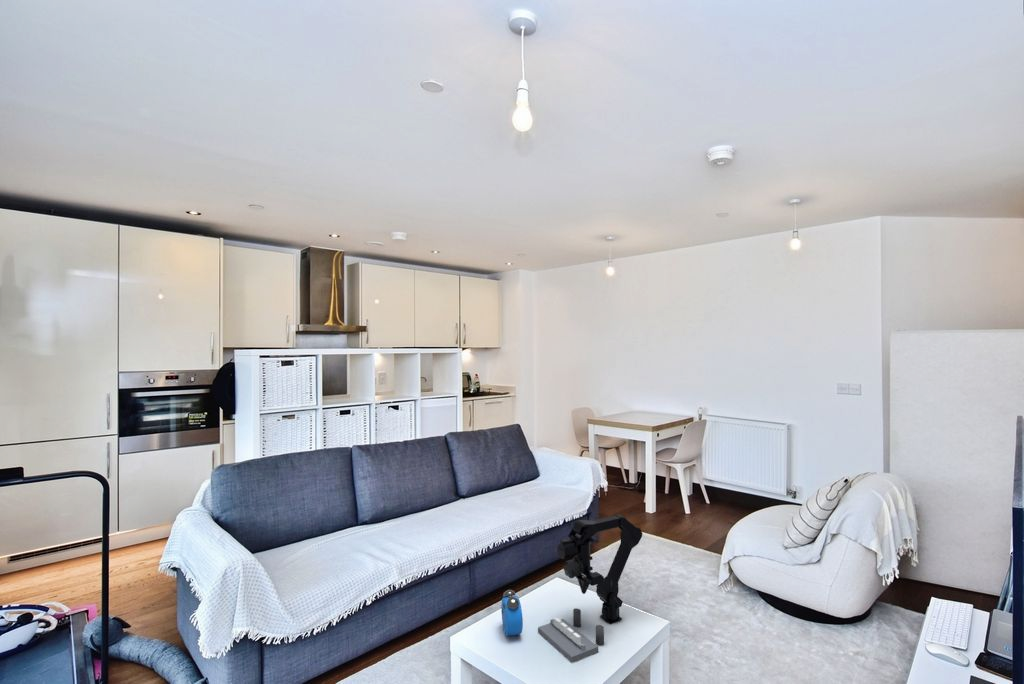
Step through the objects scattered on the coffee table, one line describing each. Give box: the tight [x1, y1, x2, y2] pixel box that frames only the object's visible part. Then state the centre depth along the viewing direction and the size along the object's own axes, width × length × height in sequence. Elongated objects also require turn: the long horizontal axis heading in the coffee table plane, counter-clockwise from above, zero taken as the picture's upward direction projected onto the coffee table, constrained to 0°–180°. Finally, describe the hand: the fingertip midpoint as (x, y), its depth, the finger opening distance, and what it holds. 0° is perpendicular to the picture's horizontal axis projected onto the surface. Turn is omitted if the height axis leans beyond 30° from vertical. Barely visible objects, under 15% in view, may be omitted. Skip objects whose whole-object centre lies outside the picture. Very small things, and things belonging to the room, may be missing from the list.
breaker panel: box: [537, 618, 600, 664], centre depth 183 cm, size 12×22×4 cm, turn 30°
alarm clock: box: [500, 589, 524, 637], centre depth 190 cm, size 13×6×15 cm, turn 12°
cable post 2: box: [595, 624, 605, 647], centre depth 182 cm, size 3×3×6 cm
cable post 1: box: [572, 607, 582, 629], centre depth 194 cm, size 3×3×6 cm
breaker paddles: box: [552, 617, 581, 648], centre depth 183 cm, size 1×18×3 cm, turn 30°
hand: (583, 593), depth 194 cm, fingers closed
